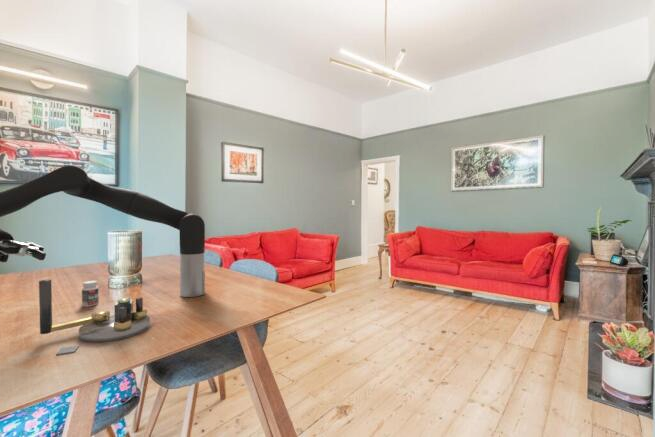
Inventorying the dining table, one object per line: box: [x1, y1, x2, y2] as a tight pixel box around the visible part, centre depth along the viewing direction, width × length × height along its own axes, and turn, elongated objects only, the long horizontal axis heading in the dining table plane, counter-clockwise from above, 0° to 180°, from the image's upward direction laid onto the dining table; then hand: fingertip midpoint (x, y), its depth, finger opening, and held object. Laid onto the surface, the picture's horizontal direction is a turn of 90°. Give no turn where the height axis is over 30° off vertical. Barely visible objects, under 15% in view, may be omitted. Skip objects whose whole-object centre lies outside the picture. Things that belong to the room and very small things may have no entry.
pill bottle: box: [81, 280, 100, 308], centre depth 109 cm, size 5×5×8 cm
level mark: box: [55, 344, 80, 356], centre depth 75 cm, size 4×4×1 cm
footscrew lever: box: [38, 279, 111, 335], centre depth 85 cm, size 15×4×14 cm, turn 140°
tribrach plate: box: [78, 297, 151, 344], centre depth 88 cm, size 17×17×9 cm
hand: (25, 257), depth 82 cm, fingers open, 8 cm apart
